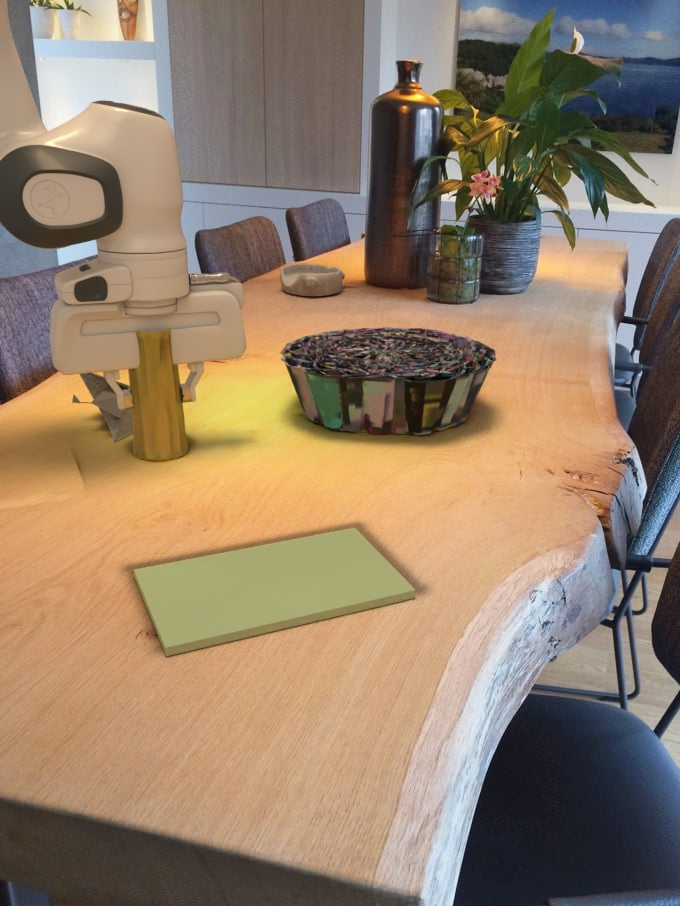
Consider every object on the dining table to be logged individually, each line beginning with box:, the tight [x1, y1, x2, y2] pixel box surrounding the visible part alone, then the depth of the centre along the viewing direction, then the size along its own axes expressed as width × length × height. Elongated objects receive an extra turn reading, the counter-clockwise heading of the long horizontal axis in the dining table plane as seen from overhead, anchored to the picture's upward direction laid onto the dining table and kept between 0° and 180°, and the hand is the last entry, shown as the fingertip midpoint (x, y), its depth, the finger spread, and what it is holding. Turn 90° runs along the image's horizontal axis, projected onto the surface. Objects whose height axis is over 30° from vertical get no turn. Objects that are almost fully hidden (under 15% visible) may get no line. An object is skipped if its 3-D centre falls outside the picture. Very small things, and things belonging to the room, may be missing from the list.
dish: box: [279, 262, 346, 297], centre depth 178 cm, size 14×14×5 cm
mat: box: [133, 527, 417, 657], centre depth 67 cm, size 20×12×1 cm, turn 115°
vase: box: [127, 328, 190, 462], centre depth 91 cm, size 6×6×14 cm
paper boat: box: [71, 372, 133, 443], centre depth 99 cm, size 12×6×9 cm
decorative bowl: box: [279, 326, 497, 437], centre depth 106 cm, size 26×28×10 cm
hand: (156, 404), depth 91 cm, fingers closed on vase, 5 cm apart
